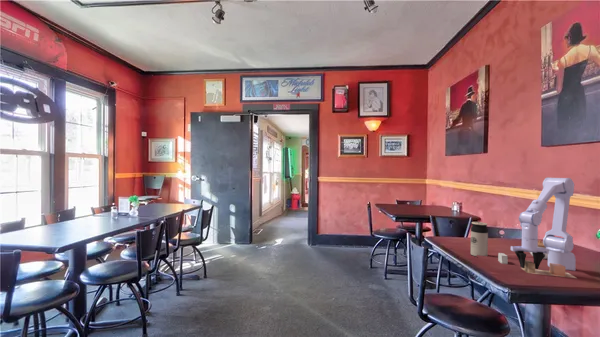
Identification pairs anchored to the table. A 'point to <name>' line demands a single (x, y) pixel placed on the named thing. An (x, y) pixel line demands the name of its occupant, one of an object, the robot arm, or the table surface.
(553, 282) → the table surface
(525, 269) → the birch strip
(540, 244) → the lidded jar
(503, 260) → the white block
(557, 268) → the terracotta cube
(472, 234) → the travel mug
